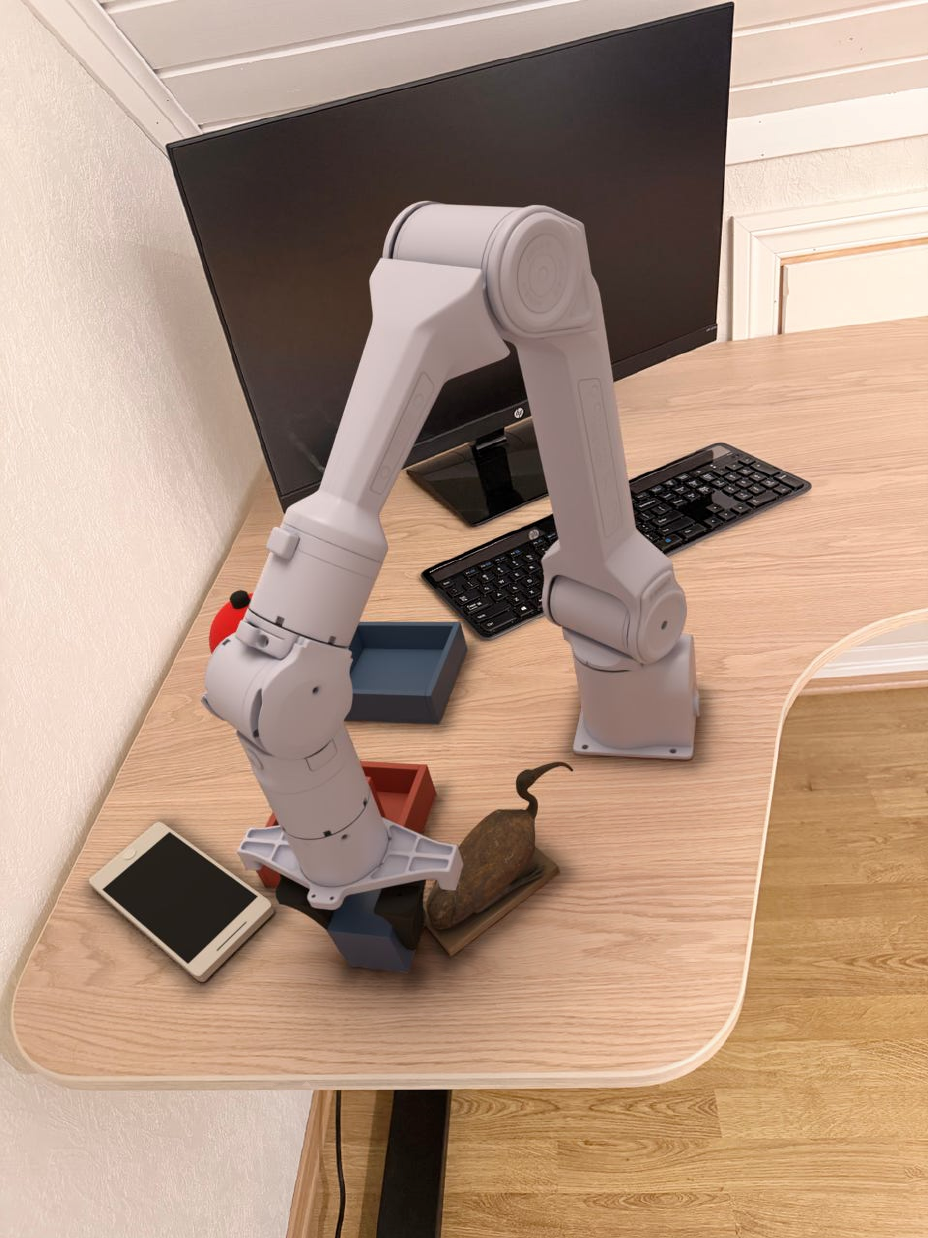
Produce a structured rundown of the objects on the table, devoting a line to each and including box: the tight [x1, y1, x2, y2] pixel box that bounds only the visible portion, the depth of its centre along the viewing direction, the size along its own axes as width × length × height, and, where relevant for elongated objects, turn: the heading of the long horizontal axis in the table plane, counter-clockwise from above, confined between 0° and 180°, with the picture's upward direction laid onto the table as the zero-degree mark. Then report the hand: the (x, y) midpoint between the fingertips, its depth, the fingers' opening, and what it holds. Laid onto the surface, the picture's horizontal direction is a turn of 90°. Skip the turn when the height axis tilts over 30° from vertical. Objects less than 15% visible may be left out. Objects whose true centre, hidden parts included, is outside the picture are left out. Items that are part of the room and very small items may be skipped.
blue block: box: [326, 888, 426, 974], centre depth 62 cm, size 4×4×4 cm
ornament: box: [208, 589, 254, 655], centre depth 88 cm, size 9×9×10 cm
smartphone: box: [88, 821, 275, 983], centre depth 70 cm, size 7×16×1 cm, turn 50°
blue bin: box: [344, 621, 469, 725], centre depth 85 cm, size 11×10×4 cm
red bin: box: [255, 760, 437, 888], centre depth 71 cm, size 11×10×4 cm
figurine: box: [423, 761, 574, 957], centre depth 64 cm, size 14×4×9 cm, turn 126°
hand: (380, 933), depth 62 cm, fingers closed on blue block, 4 cm apart
